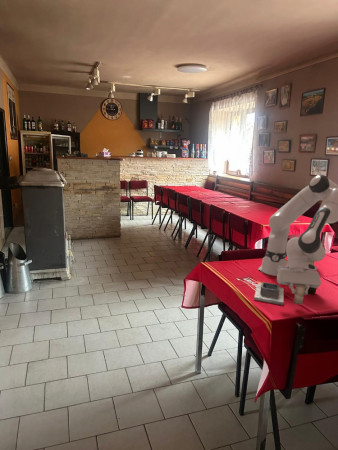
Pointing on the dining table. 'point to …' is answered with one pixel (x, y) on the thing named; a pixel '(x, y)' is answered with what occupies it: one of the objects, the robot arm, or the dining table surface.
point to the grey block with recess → (269, 293)
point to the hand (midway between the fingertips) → (299, 293)
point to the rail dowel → (299, 294)
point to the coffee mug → (311, 290)
